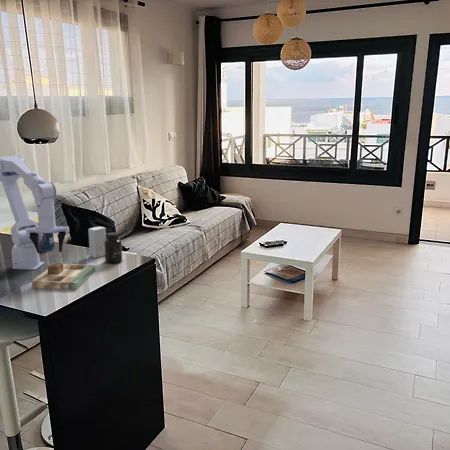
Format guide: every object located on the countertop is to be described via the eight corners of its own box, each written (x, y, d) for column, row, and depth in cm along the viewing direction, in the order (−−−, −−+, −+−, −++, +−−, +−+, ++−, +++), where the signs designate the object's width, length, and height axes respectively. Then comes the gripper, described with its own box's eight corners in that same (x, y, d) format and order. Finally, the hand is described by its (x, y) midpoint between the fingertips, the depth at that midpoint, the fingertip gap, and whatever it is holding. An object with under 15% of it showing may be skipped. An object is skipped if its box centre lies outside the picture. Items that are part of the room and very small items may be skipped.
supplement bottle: (118, 265, 180) (116, 236, 177) (102, 263, 181) (100, 235, 178) (125, 259, 187) (123, 231, 183) (109, 258, 188) (108, 230, 185)
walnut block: (48, 274, 163) (47, 266, 162) (53, 270, 167) (52, 262, 166) (58, 274, 163) (58, 266, 162) (63, 270, 166) (62, 263, 166)
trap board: (32, 287, 157) (31, 281, 156) (55, 269, 174) (55, 263, 174) (76, 289, 156) (76, 282, 155) (95, 271, 173) (95, 265, 173)
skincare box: (96, 258, 188) (94, 230, 185) (89, 256, 190) (87, 228, 187) (107, 254, 192) (106, 227, 189) (101, 252, 195) (99, 225, 192)
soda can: (34, 250, 197) (31, 223, 194) (46, 245, 204) (44, 220, 200) (46, 252, 195) (44, 225, 192) (58, 247, 201) (55, 221, 198)
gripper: (22, 219, 157) (26, 256, 161) (65, 218, 160) (68, 254, 163) (27, 214, 164) (30, 250, 167) (68, 213, 166) (71, 248, 170)
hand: (49, 251), depth 166 cm, fingers open, 7 cm apart
